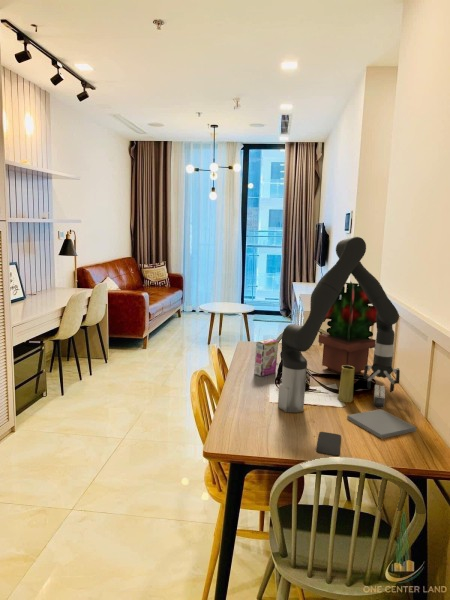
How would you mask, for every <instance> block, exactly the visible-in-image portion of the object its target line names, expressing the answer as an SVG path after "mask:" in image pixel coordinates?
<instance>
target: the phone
mask: <svg viewBox="0 0 450 600" xmlns="http://www.w3.org/2000/svg"><path fill="white" fill-rule="evenodd" d="M341 439H342V436H341V434H338V433H333V432H326V431H320V432H318V437H317V441H316V442H317V443H316V448H315V452H316V453H317V454H320V455H326V456H333V457H339V456H340V453H341V452H340V451H341V442H342V440H341Z"/></svg>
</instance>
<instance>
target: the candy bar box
mask: <svg viewBox="0 0 450 600" xmlns="http://www.w3.org/2000/svg"><path fill="white" fill-rule="evenodd" d="M278 350H279V340H278V339H277V340H276V339H273V338H268V339H263V340H259V341H256V346H255V357H254V359H255V360H254V373H253V375H255V376H258V377H262V378H263V377H265V376H268V375H272V374H275V373H277V372H276V371H277V364H276V363H278V362H277V361H278Z"/></svg>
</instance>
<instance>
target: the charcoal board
mask: <svg viewBox="0 0 450 600" xmlns="http://www.w3.org/2000/svg"><path fill="white" fill-rule="evenodd" d="M346 420H348V421H350V422H351V421H352V423H353V424H355V425H356V424H357V426H358V427H360V428H362V429H363V428H364V430H365V429H366V430H365V431H367V430H368V431H369V432H368V431H367V432H368V433H370V432H371V433H370V434H372V433H373V434H374V435H373V434H372V435H373V436H375V435H376V436H375V437H377V436H378V437H380V438H383V439H387V438H392V437H396V436H400V435H405V434H409V433H415V432H417V426H415V425H414V424H411V423H409V422H407V421H405V420H403V419H402V418H399V417H397V416H395V415H393V414H392V413H390V412H387V411H386V410H384V409H383V408H380V409H379V408H378V409H373V410H370V411H369V410H368V411H363V412H357V413H352V414H348V415H347V417H346ZM378 437H377V438H378ZM386 437H387V438H386ZM380 438H379V439H380Z"/></svg>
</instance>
